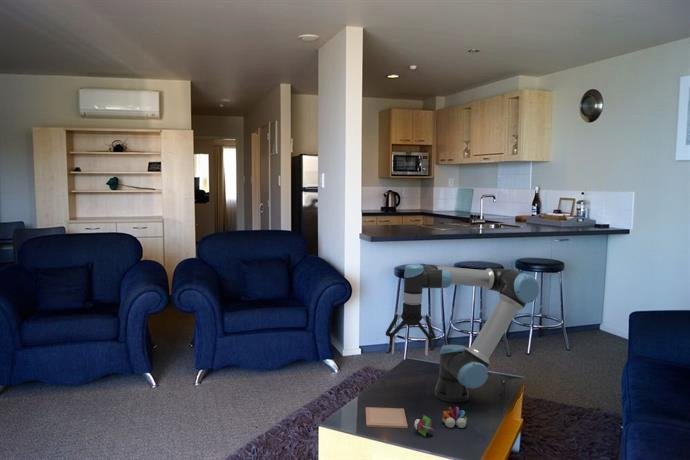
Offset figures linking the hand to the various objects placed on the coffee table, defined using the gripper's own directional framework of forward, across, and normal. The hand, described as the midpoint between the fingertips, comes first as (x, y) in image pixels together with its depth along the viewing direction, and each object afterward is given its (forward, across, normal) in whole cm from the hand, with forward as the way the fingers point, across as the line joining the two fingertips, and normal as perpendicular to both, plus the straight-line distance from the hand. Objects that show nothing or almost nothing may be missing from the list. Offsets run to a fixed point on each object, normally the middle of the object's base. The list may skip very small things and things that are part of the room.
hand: (409, 353), depth 218 cm
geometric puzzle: (+26, -6, +16) cm, 31 cm away
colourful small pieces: (+26, -19, +7) cm, 33 cm away
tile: (+26, +8, +5) cm, 28 cm away
